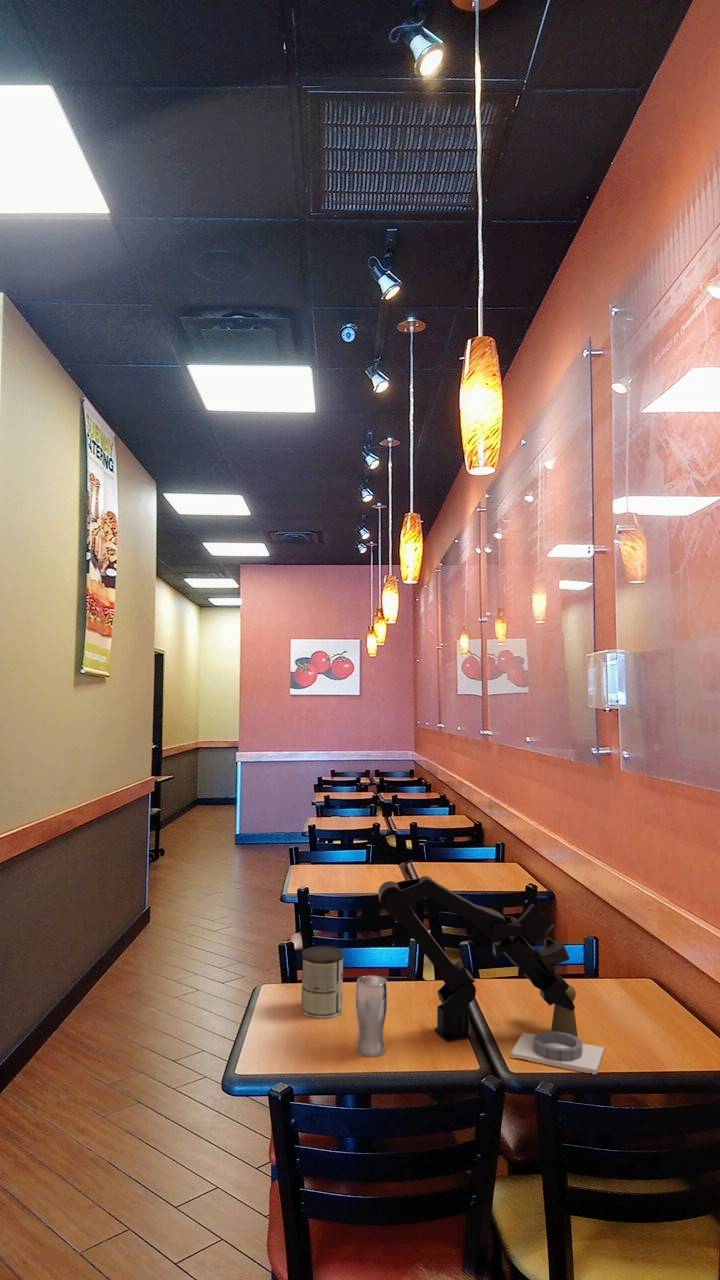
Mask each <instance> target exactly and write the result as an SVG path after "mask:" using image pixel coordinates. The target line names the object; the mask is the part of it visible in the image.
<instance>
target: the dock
mask: <svg viewBox="0 0 720 1280" xmlns="http://www.w3.org/2000/svg"><path fill="white" fill-rule="evenodd" d="M582 1041H583V1040H581V1039H580V1038H579V1037H578V1036H577V1037H576V1036H573V1035H571V1034H568V1033H564V1032H558V1031H551V1030H548V1031H546V1030H545V1031H542V1032H537V1033H536V1034H533V1033H528V1032H527V1033H526V1032H522V1034H521V1035H520V1037H519V1038H518V1040H517V1042H516V1044H515V1045H514V1047H513V1049H512V1050H511V1052H510V1057H511V1056H512V1057H518V1058H522V1059H527V1060H531V1061H535V1062H540V1063H543V1064H542V1065H544V1064H548V1065H547V1066H549V1065H553V1066H552V1067H554V1066H556V1067H555V1068H559V1067H560V1068H559V1069H564V1068H565V1069H566V1070H570V1071H576V1072H580V1073H584V1074H585V1073H586V1074H590V1073H592V1074H591V1075H595V1074H597V1075H598V1073H597V1072H599V1069H600V1067H601V1062H602V1061H603V1057H604V1055H605V1054H604V1053H605V1047H604V1046H597V1045H591V1044H586V1043H584V1042H582Z"/></svg>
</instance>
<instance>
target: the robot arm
mask: <svg viewBox="0 0 720 1280" xmlns="http://www.w3.org/2000/svg"><path fill="white" fill-rule="evenodd" d="M377 895H378V899H379V902H380V905H381V907H382V909H383V910H384V911H385V912H386V913H387V914H389V915H390V916H391V917H392V918H393V919H395V920H396V921H397V922H398V923H400V924H401V925H402V926H403V927H404V929H406V931H407V933H409V935H410V936H411V937H412V939H413V941H414V942H416V944H417V946H418V947H419V949H421V951H422V952H423V953H424V955H425V956H426V957H427V959H428V960H429V961H430V962H431V964H432V966H434V968H435V969H436V971H438V973H439V974H440V976H441V978H442V981H443V982H444V984H443V985H442V986H441V987H440V988H439V989H438V990H437V992H436V993H437V995H438V996H437V997H438V999H439V1002H441V1004H440V1005H439V1004H438V1005H436V1007H437V1011H436V1012H437V1013H436V1014H437V1016H436V1023H437V1024H436V1027H433V1031H434V1032H435V1033H436V1034H437V1035H438V1036H439V1037H441V1039H443V1040H444V1041H446V1042H451V1041H457V1040H462V1039H464V1040H465V1039H470V1038H471V1036H472V1035H471V1034H470V1033H469V1032H470V1013H469V1012H468V1009H469V1006H470V1003H472V1002H473V1001H474V1000H475V998H476V996H477V994H476V993H477V989H476V988H477V987H476V986H475V985H474V983H476V981H475V979H474V977H473V976H472V973H470V971H469V970H467V969H466V968H465V967H464V964H463V962H462V961H461V960H460V958H459V959H458V960H457V961H456V962H454V961H453V960H452V959H451V958H449V956H448V954H446V953H445V951H444V950H443V949H442V947H441V946H440V944H438V942H437V941H436V939H435V938H434V937H433V935H432V934H431V933H430V932H429V931H428V929H427V928H426V926H425V924H423V922H422V921H421V920H420V919H419V917H418V916H417V914H416V913H415V912H414V910H413V908H412V906H411V905H412V904H414V903H417V902H419V901H420V900H423V899H425V898H428V899H430V900H432V901H433V902H436V903H437V904H439V905H440V906H442V907H444V908H446V909H447V910H449V911H450V912H453V913H454V914H456V915H458V916H459V917H461V918H463V919H465V920H466V921H468V922H469V923H471V924H472V925H473V926H474V927H475V928H476V929H477V930H478V931H479V932H480V933H481V934H483V935H484V936H485V937H486V938H487V939H489V940H491V942H493V943H492V954H493V955H494V957H496V958H497V959H498V958H499V957H501V955H502V954H504V955H505V956H506V958H508V959H509V960H510V962H512V963H513V965H514V966H515V967H516V968H517V969H518V970H519V972H521V974H522V975H523V976H525V977H526V978H527V979H528V980H529V981H530V982H531V984H532V985H533V987H535V988H537V989H539V995H540V996H541V998H542V999H543V1000H544V1002H546V1003H547V1005H549V1006H553V1005H555V1004H556V1005H559V1006H561V1007H564V1008H566V1009H569V1010H571V1011H573V1010H574V1011H575V1009H576V1006H575V1004H573V1003H574V1002H573V1003H572V1001H571V1000H570V998H569V996H568V995H567V993H566V992H565V991H566V990H567V989H568V987H569V985H570V984H568V982H567V981H566V980H565V979H564V978H563V977H562V976H561V975H560V974H556V972H555V971H556V969H555V968H554V967H556V966H558V965H560V964H562V963H564V962H568V961H569V960H570V956H569V955H570V954H569V953H568V950H567V948H566V946H565V945H564V943H562V941H560V940H555V941H554V940H553V939H552V938H550V937H547V938H545V939H543V937H545V935H547V934H548V933H549V932H550V931H551V929H553V927H554V926H555V924H554V923H553V921H551V920H550V918H549V917H548V916H546V915H545V914H544V913H543V912H542V911H541V910H540V909H538V907H536V906H535V905H534V903H530V905H529V906H528V907H527V908H526V910H525V911H524V912H523V913H522V915H520V916H519V917H518V919H517V918H516V917H514V916H506V915H502V914H501V913H500V912H498V910H497V911H496V910H494V909H492V908H489V907H486V906H482V905H478V904H476V903H473V902H472V901H469V900H468V899H466V898H464V897H463V896H461V895H459V894H457V893H455V892H454V891H453V890H450V889H448V888H446V887H445V886H444V885H441V884H440V883H439V882H436V881H435V880H433V879H432V877H430V876H427V875H425V876H424V875H423V876H421V877H418V878H412V879H405V880H400V881H397V882H396V881H392V880H391V881H390V880H389V881H385V882H384V883H382V884H381V885H380V887H379V889H378V892H377ZM521 934H522V935H524V937H526V939H528V941H530V942H531V943H532V942H534V943H536V942H537V943H540V941H541V940H542V939H543V947H541V948H542V949H539V950H538V949H536V947H532V945H531V944H529V942H528V941H527V940H526V939H525V938H524V937H523V936H522V935H521Z"/></svg>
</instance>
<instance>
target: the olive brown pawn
mask: <svg viewBox="0 0 720 1280" xmlns="http://www.w3.org/2000/svg"><path fill="white" fill-rule="evenodd" d="M568 985H569V987H568V989H567V990H566V991H565V992H566V993H567V995H568V996H569V998H570V1000H571V1001H572V1003H573V1004H574V1001H575V999H576V997H577V993H576V990H575V988H574V987H573V986H572V985H571V984H568ZM553 1005H554V1006H553V1013H552V1019H551V1020H552V1021H551V1030H550V1031H558V1032H564V1033H568V1034H571V1035H573V1036H576V1037H578V1036H579V1035H578V1029H577V1021H576V1019H577V1018H576V1012H575V1009H574V1010H573V1011H571V1010H569V1009H566V1008H564V1007H561V1006H559V1005H556V1004H553ZM574 1005H575V1004H574Z"/></svg>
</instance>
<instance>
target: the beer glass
mask: <svg viewBox="0 0 720 1280" xmlns="http://www.w3.org/2000/svg"><path fill="white" fill-rule="evenodd" d="M355 992H356V993H355V1009H356V1018H357V1024H358V1025H357V1026H358V1041H357V1047H356V1052H357V1053H358V1054H359V1055H360V1056H364V1057H368V1058H369V1057H370V1058H371V1057H373V1058H374V1057H379V1056H382V1055H383V1054H384V1053H385V1052H386V1049H385V1041H384V1030H385V1029H384V1028H385V1022H386V1017H387V1011H388V1001H389V1000H388V981H387V979H386V978H385V977H382V976H380V975H364V976H360V977H359V978H357V979H356V991H355Z"/></svg>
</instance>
